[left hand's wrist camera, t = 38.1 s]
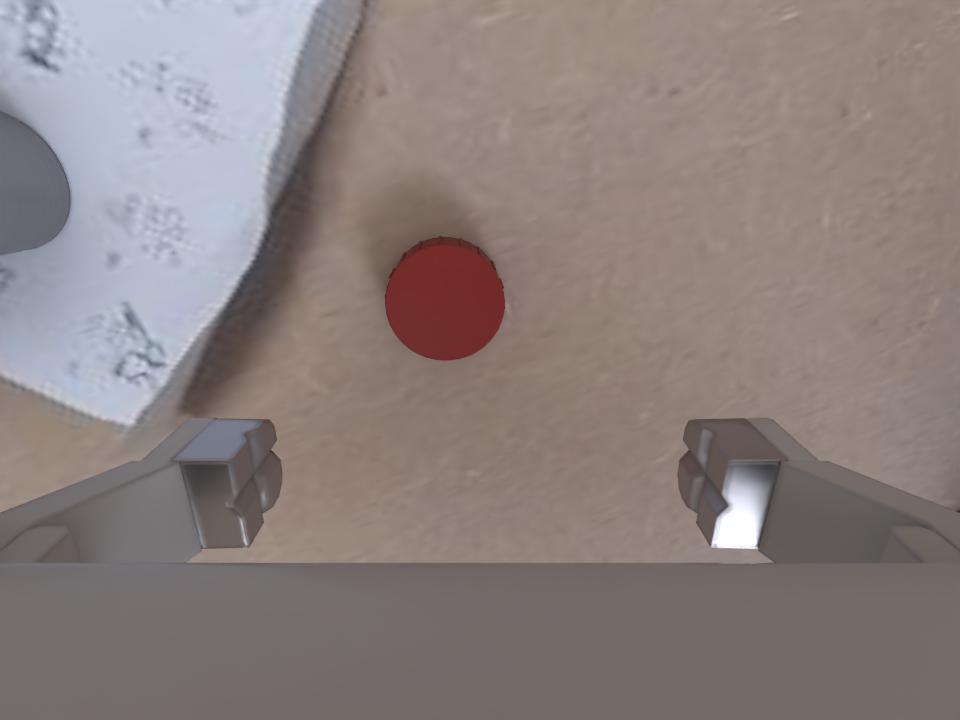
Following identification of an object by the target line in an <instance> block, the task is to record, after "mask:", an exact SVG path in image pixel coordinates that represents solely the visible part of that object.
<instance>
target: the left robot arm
mask: <svg viewBox="0 0 960 720" xmlns="http://www.w3.org/2000/svg"><path fill="white" fill-rule="evenodd" d="M276 441H277V437H276V432H275V427H274V424H273V423H272V422H271V421H270V420H269V419H217V418H198V419H187V420H186V421H185V422H184V423H183V424H182V425H181V426H180V427H178V428H177V429H176V430H175V431H174V432H173V433H172V434H171V435H169V436H168V437H167V438H166V439H165V440H164V441H163V442H162V443H160V444H159V445H158V446H157V447H156V448H155V449H154V450H153V451H151V452H150V453H149V454H148V455H147V456H146V457H145V458H144V459H142V460H141V461H131V462H129V463H126V464H124V465H121V466H119V467H116V468H114V469H111V470H108V471H106V472H103V473H101V474H98V475H96V476H93V477H91V478H88V479H85V480H83V481H80V482H78V483H75V484H73V485H70V486H68V487H65V488H62V489H60V490H57V491H55V492H52V493H50V494H47V495H45V496H42V497H39V498H37V499H34V500H32V501H29V502H27V503H24V504H22V505H19V506H16V507H14V508H11V509H9V510H6V511H4V512H1V513H0V720H960V513H958V512H956V511H953V510H951V509H948V508H946V507H943V506H941V505H938V504H936V503H933V502H930V501H928V500H925V499H923V498H920V497H918V496H915V495H913V494H910V493H908V492H905V491H902V490H900V489H897V488H895V487H892V486H890V485H887V484H885V483H882V482H880V481H877V480H874V479H872V478H869V477H867V476H864V475H862V474H859V473H857V472H854V471H852V470H849V469H846V468H844V467H841V466H839V465H836V464H834V463H831V462H829V461H819V460H818V459H816V458H815V457H814V456H813V455H812V454H811V453H810V452H809V451H808V450H806V449H805V448H804V447H803V446H802V445H801V444H800V443H799V442H797V441H796V440H795V439H794V438H793V437H792V436H791V435H790V434H788V433H787V432H786V431H785V430H784V429H783V428H782V427H781V426H779V425H778V424H777V423H776V422H775V421H774V420H772V419H768V418H751V419H745V418H737V419H695V420H690V421H688V423H687V425H686V427H685V431H684V437H683V441H684V442H685V444H686V446H687V447H688V449H689V450H688V451H687V452H686V453H685V455H684V456H683V457H682V458H681V459H680V460H679V468H678V485H679V490H680V494H681V497H682V499H683V501H684V503H685V504H686V506H687V507H688V508H689V509H691V510H693V511H694V512H696V513H698V515H697V520H696V523H697V525H698V527H699V528H700V530H701V532H702V533H703V535H704V537H705V538H706V540H707V542H708V543H709V545H710V547H711V548H747V549H759V552H761V553H762V554H764V555H765V556H766V557H768V558H769V559H770V560H772V561H773V562H774V563H186V562H187V561H188V560H190V559H191V558H193V557H194V556H195V555H197V554H198V553H199V552H201V549H212V548H249V547H250V545H251V543H252V542H253V540H254V538H255V537H256V535H257V533H258V532H259V530H260V528H261V527H262V525H263V523H264V520H263V515H262V513H264V512H266V511H267V510H269V509H271V508H272V507H273V506H274V504H275V503H276V501H277V499H278V497H279V494H280V489H281V485H282V466H281V460H280V459H279V458H278V457H277V456H276V455H275V453H274V452H273V451H272V450H271V449H272V447H273V446H274V444H275V442H276Z"/></svg>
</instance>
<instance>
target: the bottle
mask: <svg viewBox="0 0 960 720" xmlns="http://www.w3.org/2000/svg"><path fill="white" fill-rule="evenodd" d="M69 208H70V194H69V187H68V183H67V179H66V176H65V173H64V171H63V169H62V167H61V165H60V163H59V161H58V159H57V158H56V156H55V154H54V153H53V152H52V150H51V149H50V148H49V146H48V145H47V144H46V143H45V142H44V141H43V140H42V139H41V138H40V137H39V136H38V135H37V134H36V133H35V132H34V131H33V130H32V129H30V128H29V127H27V126H26V125H25V124H23V123H22V122H20V121H19V120H17V119H15V118H13V117H12V116H9V115H7V114H5V113H3V112H0V255H5V254H10V253H14V252H19V251H23V250H28V249H33V248H37V247H39V246H42V245H44V244H46V243H47V242H49V241H51V240H52V239H53V238H54V237H55V236H56V235H57V234H58V233H59V232H60V231H61V229H62V228H63V226H64V224H65V222H66V219H67V217H68V213H69Z"/></svg>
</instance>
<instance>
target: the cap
mask: <svg viewBox="0 0 960 720" xmlns="http://www.w3.org/2000/svg"><path fill="white" fill-rule="evenodd" d="M389 278H390V281H389V284H388V287H387V291H386V295H385V298H386V299H385V305H386V313H387V317H388V320H389V323H390V325H391V327H392V329H393V331H394V333H395V334H396V336H397V337H398V338H399V339H400V340H401V342H402V343H403V344H405V345H406V346H407V347H408V348H409V349H411V350H412V351H414V352H416V353H418V354H420V355H422V356H424V357H427V358H431V359H435V360H455V359H460V358H464V357H467V356H469V355H472V354H474V353H475V352H477V351H479V350H480V349H482V348H483V347H484V346H485V345H486V344H487V343H488V342H490V340H491V339H492V338H493V337H494V335H495V334H496V332H497V330H498V329H499V326H500V324H501V322H502V318H503V314H504V309H505V300H504V292H503V289H504V286H503V284H502V281H501V279H500V278H499V277H498V274H497V272H496V268H495V265H494V263H493V261H490V259H489V258H488V257H487V256H486V255H485V254H484V253H483V252H482V251H481V250H480V247H476V246H474V245H472V244H471V243H469V242H466V241H464V240H462V238H459V239H456V238H449V237H442V236H439V238H433V239H430V240H426V241H424V242H422V241H420V243H419V244H418V245H416V246H415V247H413V248H412V249H411V250H409V251H408V252H407V253H406V252H405V253H404V254H403V256H402V258H401V260H400V262H399V263H398V265H397V267H396V269H395V268H394V269H393V271H392V273H391V275H390V277H389Z"/></svg>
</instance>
